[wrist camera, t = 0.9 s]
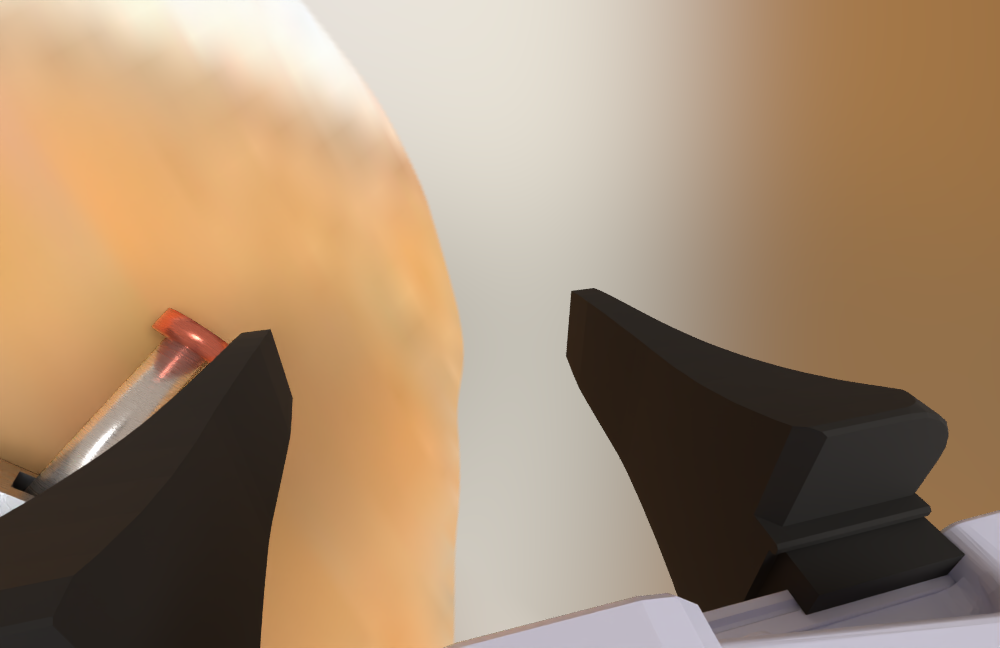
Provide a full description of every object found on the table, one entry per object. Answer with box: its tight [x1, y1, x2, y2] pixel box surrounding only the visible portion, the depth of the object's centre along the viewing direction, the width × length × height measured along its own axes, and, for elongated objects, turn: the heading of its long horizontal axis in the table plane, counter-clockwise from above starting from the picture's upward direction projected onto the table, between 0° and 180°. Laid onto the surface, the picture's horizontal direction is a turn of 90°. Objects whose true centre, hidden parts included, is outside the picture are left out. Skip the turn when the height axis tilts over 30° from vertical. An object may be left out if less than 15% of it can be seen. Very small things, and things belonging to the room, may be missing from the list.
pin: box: [24, 308, 228, 497], centre depth 20 cm, size 11×3×3 cm, turn 143°
